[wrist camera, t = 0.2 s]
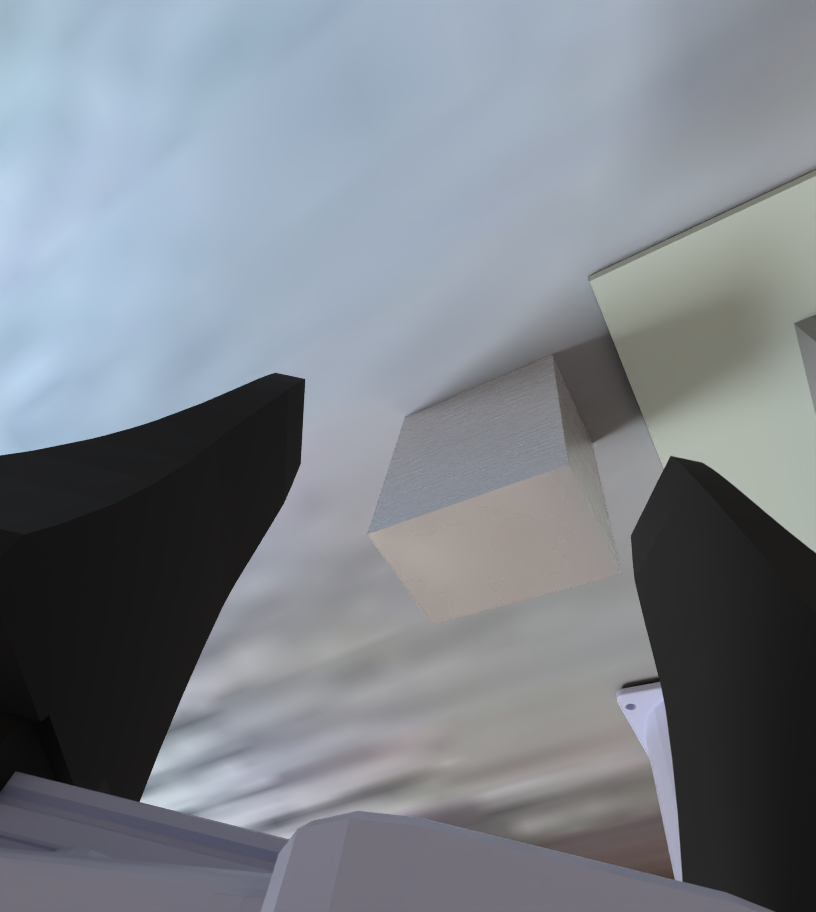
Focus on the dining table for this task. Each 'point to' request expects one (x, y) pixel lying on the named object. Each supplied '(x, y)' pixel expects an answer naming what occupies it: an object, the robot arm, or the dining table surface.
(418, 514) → the white block
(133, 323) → the dining table surface
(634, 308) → the board
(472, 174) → the dining table surface
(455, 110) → the dining table surface
